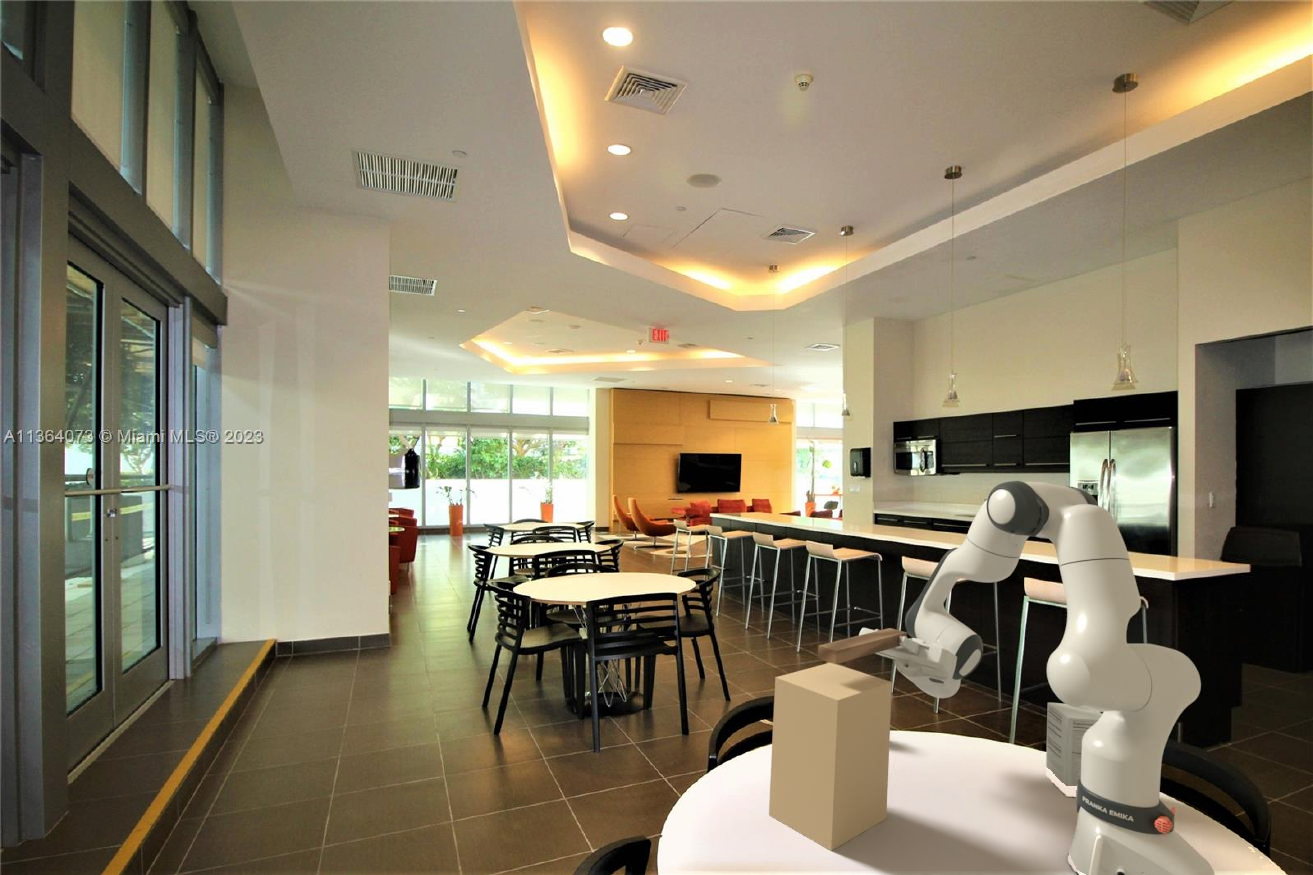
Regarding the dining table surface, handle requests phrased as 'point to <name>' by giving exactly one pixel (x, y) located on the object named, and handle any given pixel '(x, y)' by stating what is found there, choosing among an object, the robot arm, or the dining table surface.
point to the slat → (859, 646)
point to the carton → (830, 752)
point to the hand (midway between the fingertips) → (889, 636)
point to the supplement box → (1067, 740)
